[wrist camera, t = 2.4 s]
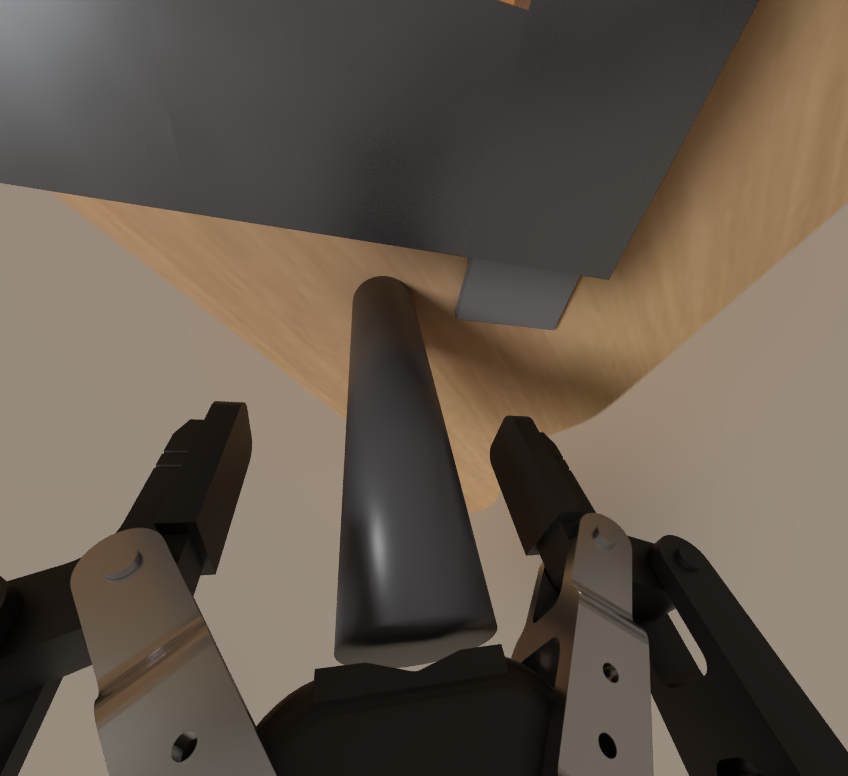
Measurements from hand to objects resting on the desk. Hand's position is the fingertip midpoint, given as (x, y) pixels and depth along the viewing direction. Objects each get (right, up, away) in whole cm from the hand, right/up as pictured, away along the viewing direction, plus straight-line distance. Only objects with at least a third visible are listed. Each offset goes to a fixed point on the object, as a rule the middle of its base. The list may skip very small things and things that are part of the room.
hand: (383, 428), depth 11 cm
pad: (+6, +8, +7) cm, 12 cm away
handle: (-1, +6, +7) cm, 9 cm away
